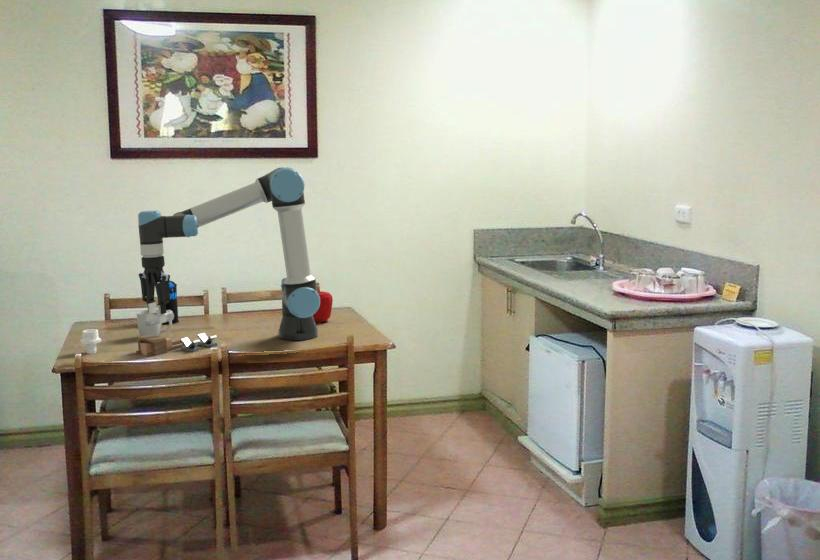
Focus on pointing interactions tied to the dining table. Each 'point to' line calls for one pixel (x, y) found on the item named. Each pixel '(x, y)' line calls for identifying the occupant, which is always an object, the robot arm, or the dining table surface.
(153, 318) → the grey elongated lump
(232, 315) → the dining table surface
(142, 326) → the mug
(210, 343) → the v block
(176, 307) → the aerosol can
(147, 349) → the brown wooden block
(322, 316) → the red bell pepper
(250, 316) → the dining table surface
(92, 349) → the pipe fitting
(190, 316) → the dining table surface
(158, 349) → the beam
